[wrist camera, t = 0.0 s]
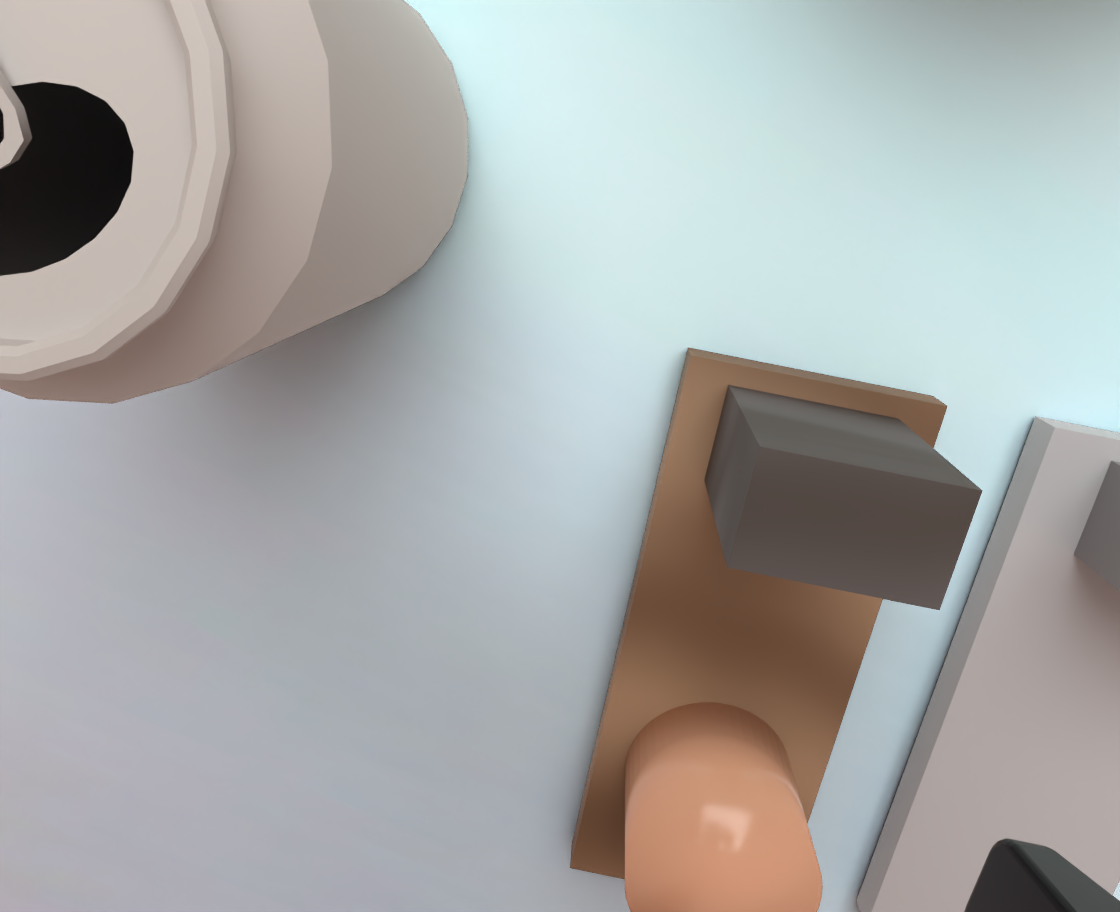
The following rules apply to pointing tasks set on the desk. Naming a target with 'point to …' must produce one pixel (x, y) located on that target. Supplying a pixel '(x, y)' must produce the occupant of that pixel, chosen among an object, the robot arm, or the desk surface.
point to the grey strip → (1022, 692)
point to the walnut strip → (727, 615)
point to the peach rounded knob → (715, 817)
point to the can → (209, 180)
